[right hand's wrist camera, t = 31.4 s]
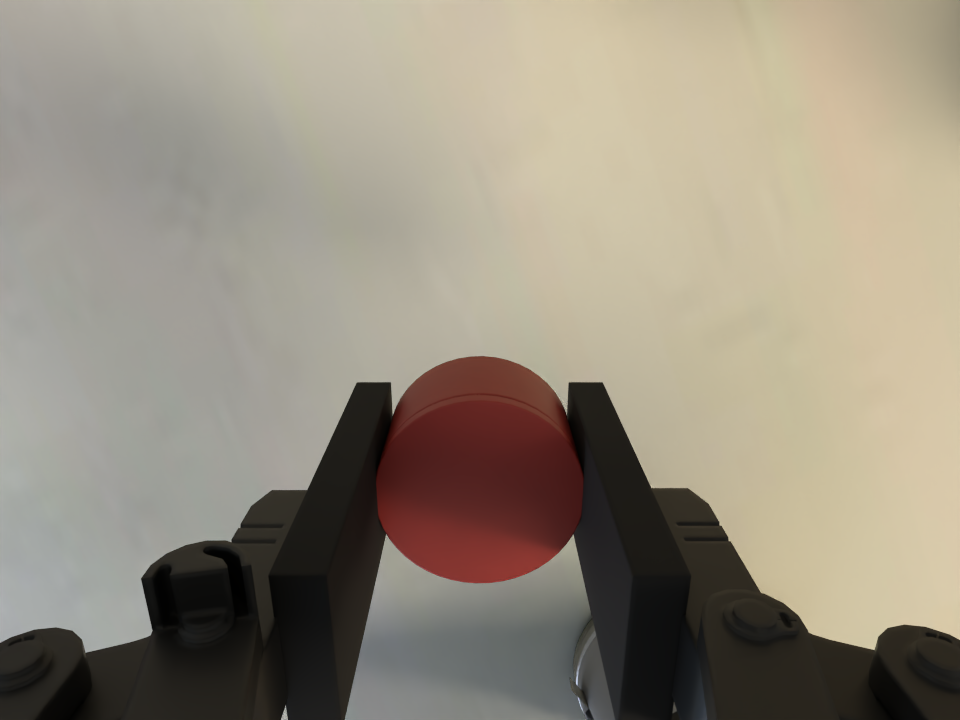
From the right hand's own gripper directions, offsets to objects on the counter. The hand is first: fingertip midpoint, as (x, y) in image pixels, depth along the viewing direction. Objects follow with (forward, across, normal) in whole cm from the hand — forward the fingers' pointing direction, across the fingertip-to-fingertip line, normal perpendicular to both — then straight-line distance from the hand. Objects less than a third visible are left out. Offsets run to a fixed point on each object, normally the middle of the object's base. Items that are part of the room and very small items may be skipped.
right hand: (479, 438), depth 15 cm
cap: (-2, 0, 0) cm, 2 cm away
